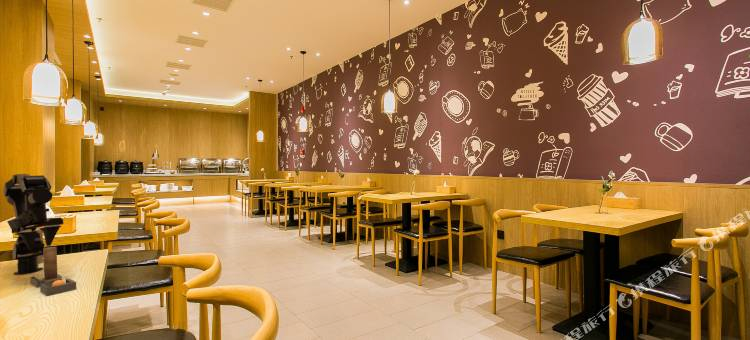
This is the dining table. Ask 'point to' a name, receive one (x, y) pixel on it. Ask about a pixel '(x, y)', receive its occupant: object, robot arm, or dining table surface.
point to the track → (37, 281)
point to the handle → (40, 258)
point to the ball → (58, 283)
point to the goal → (58, 288)
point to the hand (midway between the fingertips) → (39, 247)
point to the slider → (50, 266)
